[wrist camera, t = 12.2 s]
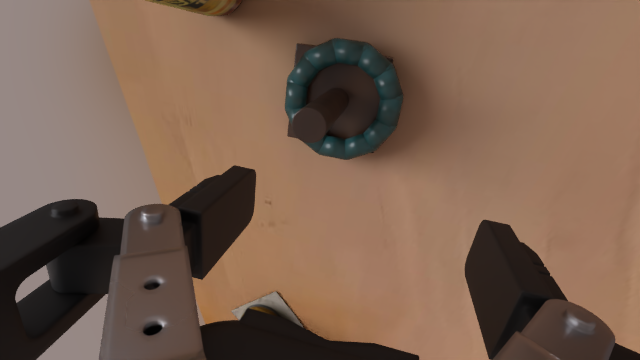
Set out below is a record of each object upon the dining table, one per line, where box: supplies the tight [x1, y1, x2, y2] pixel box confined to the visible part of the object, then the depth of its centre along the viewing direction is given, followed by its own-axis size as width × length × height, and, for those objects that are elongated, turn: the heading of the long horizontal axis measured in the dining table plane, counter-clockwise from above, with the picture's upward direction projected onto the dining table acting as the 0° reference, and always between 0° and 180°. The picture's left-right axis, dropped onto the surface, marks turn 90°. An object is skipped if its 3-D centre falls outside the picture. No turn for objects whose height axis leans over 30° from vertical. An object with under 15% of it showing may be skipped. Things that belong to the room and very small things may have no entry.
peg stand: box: [287, 44, 393, 153], centre depth 27 cm, size 9×9×12 cm
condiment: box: [231, 291, 303, 327], centre depth 41 cm, size 7×8×12 cm
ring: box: [285, 38, 403, 160], centre depth 31 cm, size 11×11×2 cm
